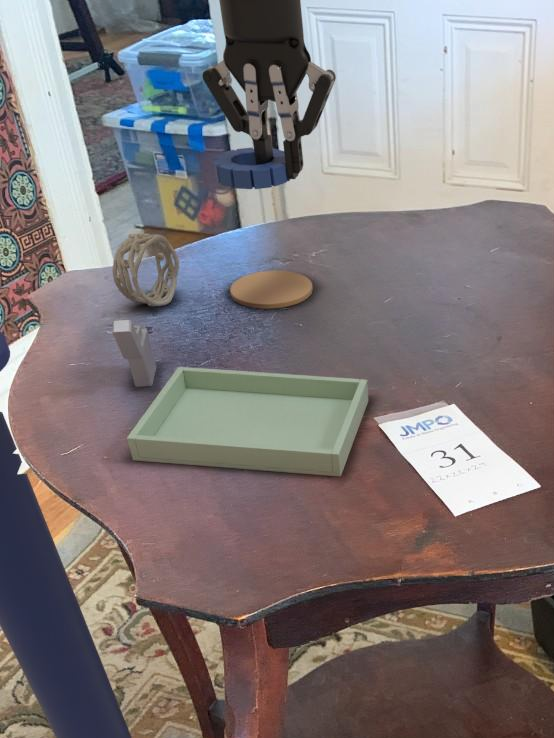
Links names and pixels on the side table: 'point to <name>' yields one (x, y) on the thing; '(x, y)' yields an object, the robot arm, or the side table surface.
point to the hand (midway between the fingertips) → (280, 175)
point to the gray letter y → (136, 351)
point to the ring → (249, 169)
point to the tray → (252, 421)
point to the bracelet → (132, 246)
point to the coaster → (271, 289)
